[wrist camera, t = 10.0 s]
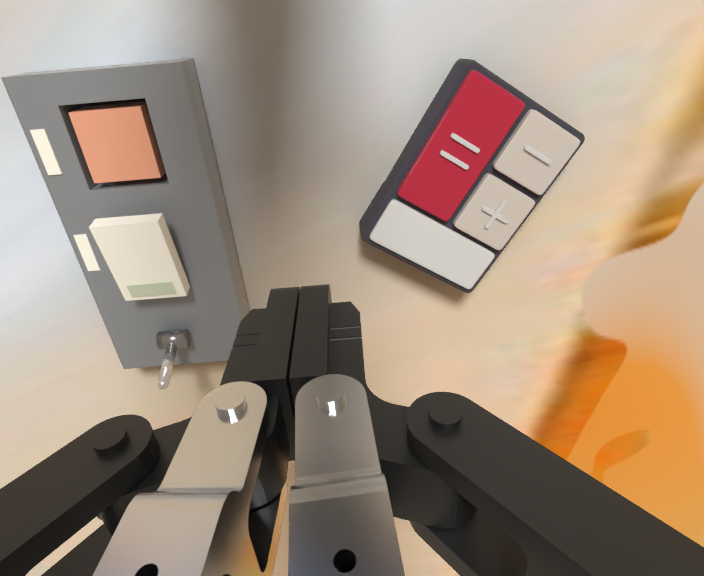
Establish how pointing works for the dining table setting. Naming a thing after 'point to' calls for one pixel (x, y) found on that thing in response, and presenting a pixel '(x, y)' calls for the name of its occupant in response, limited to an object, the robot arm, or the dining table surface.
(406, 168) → the calculator
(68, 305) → the dining table surface
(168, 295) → the white slab
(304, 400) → the robot arm
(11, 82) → the panel
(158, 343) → the toggle lever
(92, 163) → the push button
